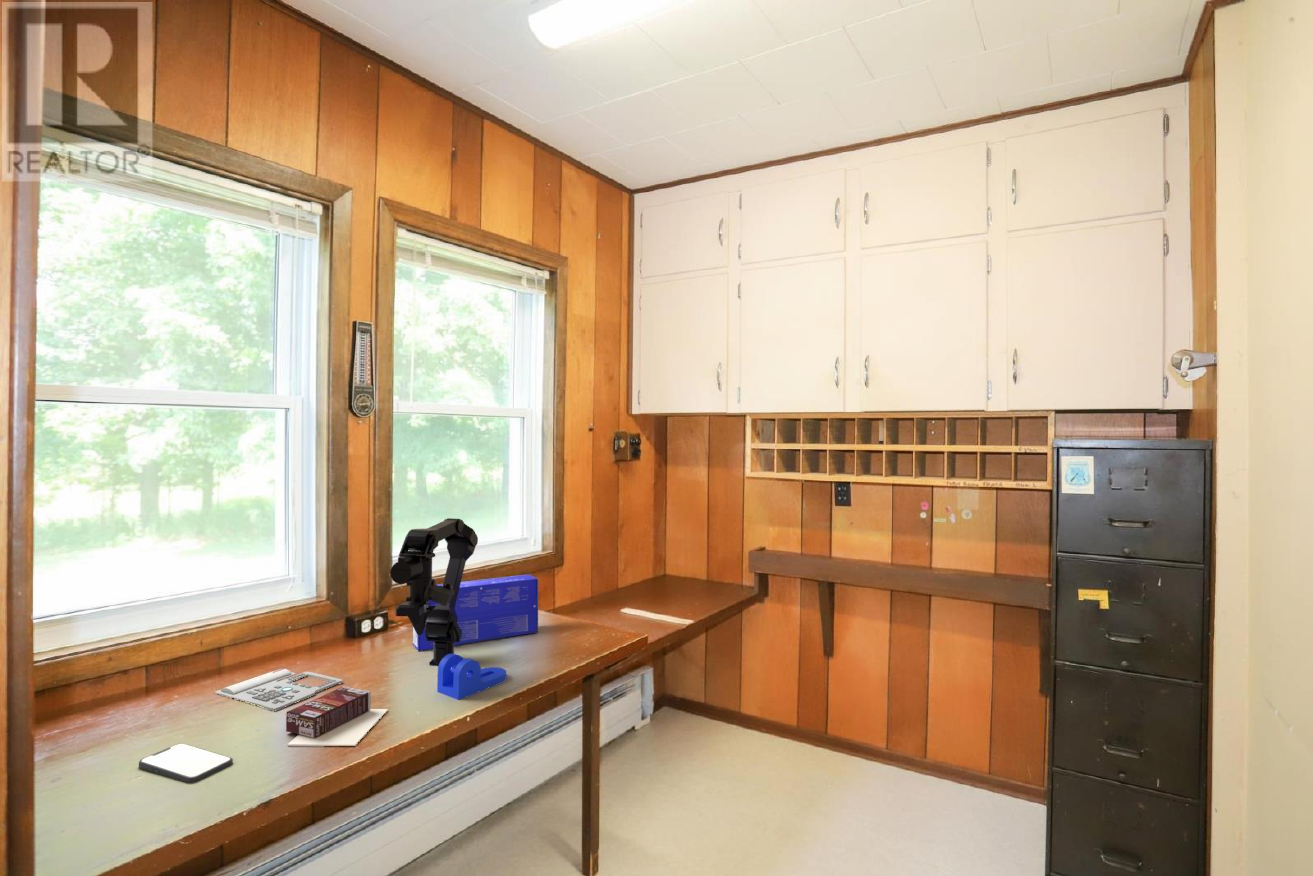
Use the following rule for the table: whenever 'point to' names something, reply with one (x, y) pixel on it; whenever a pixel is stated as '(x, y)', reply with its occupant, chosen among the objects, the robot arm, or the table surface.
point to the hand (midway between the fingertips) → (419, 634)
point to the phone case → (185, 763)
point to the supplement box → (328, 711)
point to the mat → (343, 731)
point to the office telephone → (276, 689)
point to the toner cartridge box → (492, 610)
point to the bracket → (465, 676)
